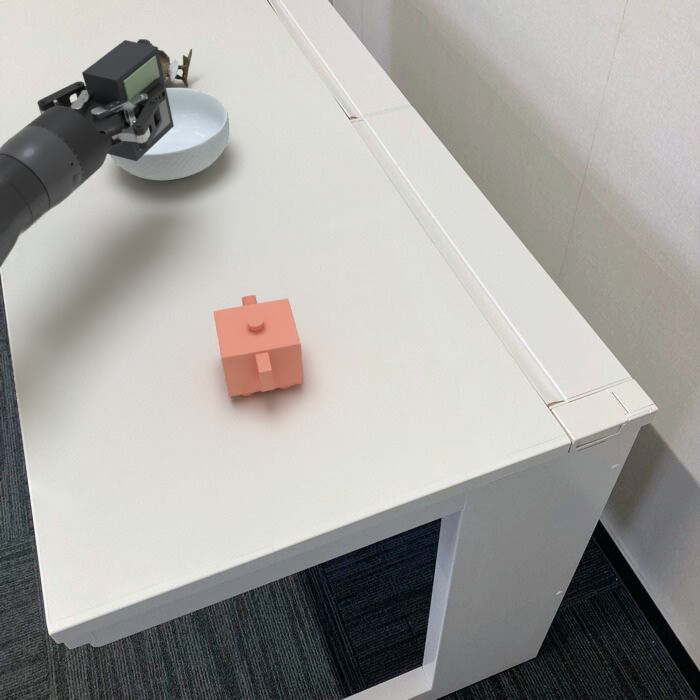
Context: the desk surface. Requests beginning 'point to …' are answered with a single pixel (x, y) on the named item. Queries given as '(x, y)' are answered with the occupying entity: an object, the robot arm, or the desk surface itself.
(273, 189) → the desk surface
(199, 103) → the cereal bowl
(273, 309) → the pink cube teapot
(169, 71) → the eagle figurine
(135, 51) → the calculator
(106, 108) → the robot arm
